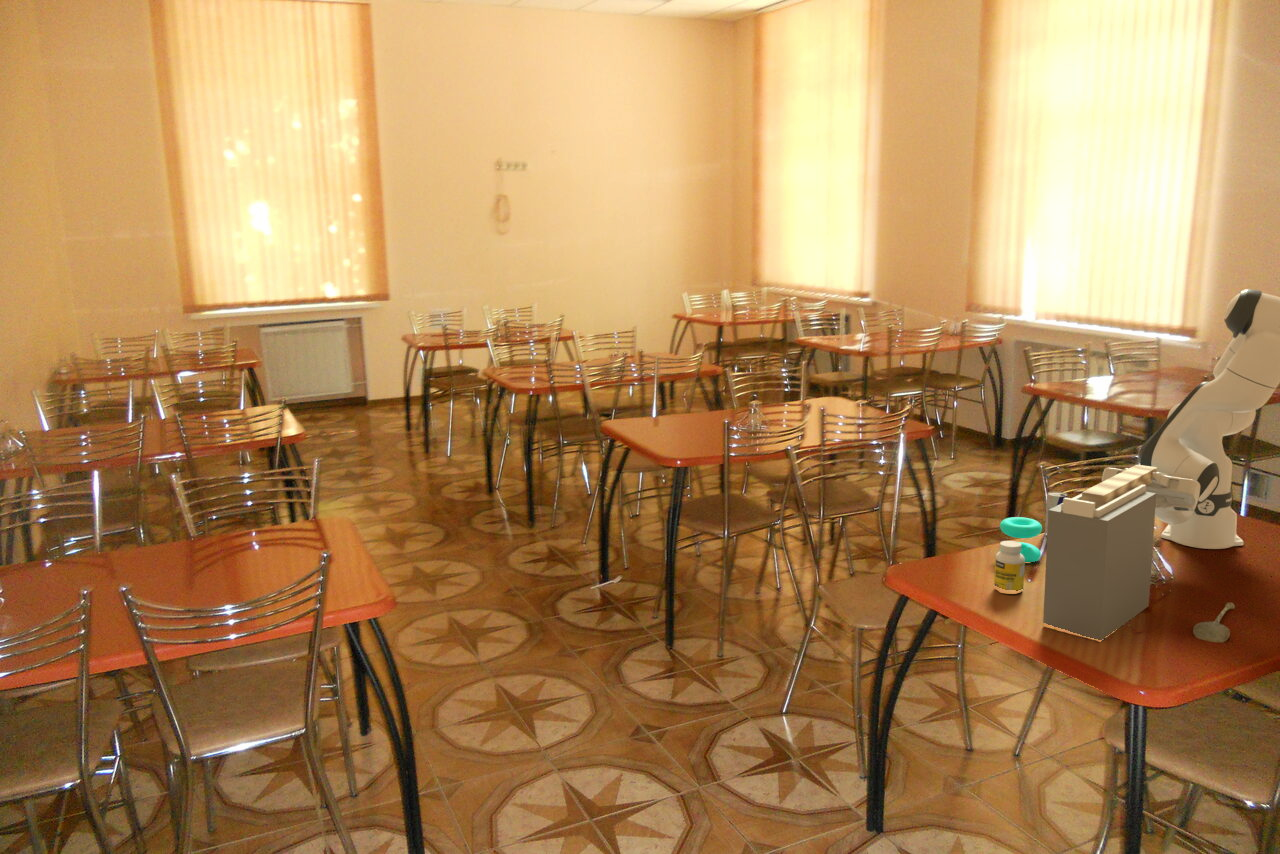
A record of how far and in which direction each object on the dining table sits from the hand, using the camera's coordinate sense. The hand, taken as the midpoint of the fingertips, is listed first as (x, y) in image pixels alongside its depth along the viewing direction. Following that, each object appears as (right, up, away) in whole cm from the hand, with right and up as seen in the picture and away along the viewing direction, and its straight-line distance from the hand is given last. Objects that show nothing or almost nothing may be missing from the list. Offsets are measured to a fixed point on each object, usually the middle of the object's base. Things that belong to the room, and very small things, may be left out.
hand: (1140, 473), depth 220 cm
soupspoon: (+9, -32, -14) cm, 36 cm away
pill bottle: (-27, -28, +9) cm, 40 cm away
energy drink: (0, -20, +45) cm, 49 cm away
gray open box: (-14, -31, -8) cm, 35 cm away
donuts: (-16, -24, +29) cm, 41 cm away
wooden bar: (-8, -4, -7) cm, 11 cm away
